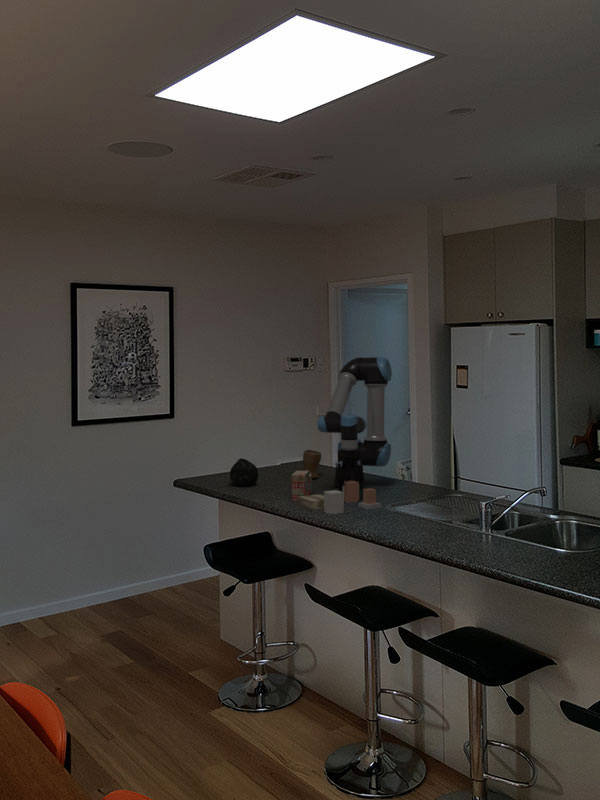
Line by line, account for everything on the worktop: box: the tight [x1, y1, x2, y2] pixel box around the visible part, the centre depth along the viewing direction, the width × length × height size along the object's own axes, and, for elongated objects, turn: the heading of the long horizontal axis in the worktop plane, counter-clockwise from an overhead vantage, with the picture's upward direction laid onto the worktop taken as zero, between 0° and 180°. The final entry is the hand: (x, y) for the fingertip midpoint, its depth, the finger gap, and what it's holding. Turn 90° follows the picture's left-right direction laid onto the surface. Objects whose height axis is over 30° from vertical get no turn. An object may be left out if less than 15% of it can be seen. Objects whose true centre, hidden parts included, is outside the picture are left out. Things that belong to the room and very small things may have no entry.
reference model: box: [358, 487, 382, 511], centre depth 329 cm, size 7×7×8 cm
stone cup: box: [297, 449, 322, 479], centre depth 409 cm, size 15×12×15 cm
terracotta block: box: [343, 480, 360, 504], centre depth 343 cm, size 6×6×9 cm
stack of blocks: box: [291, 470, 313, 502], centre depth 356 cm, size 21×6×12 cm, turn 170°
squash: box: [229, 458, 259, 487], centre depth 387 cm, size 14×15×15 cm
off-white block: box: [323, 489, 345, 515], centre depth 319 cm, size 6×6×9 cm
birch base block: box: [296, 493, 324, 511], centre depth 332 cm, size 12×12×4 cm
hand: (349, 498), depth 344 cm, fingers open, 7 cm apart
